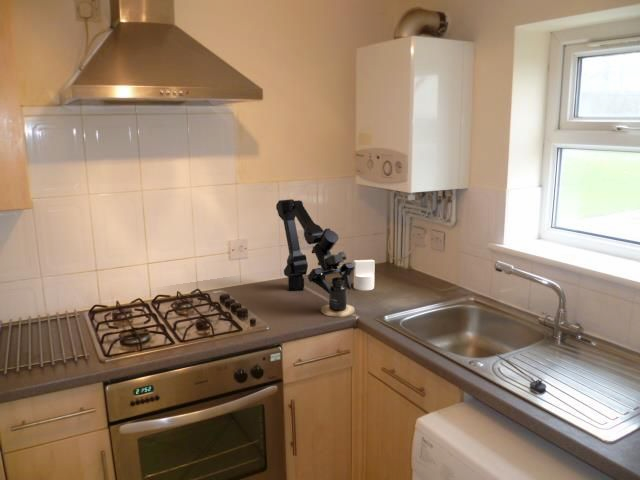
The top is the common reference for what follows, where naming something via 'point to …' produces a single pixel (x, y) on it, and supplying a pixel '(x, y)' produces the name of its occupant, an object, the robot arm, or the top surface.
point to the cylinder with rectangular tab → (364, 274)
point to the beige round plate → (346, 312)
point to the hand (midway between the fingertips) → (340, 290)
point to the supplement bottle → (338, 295)
